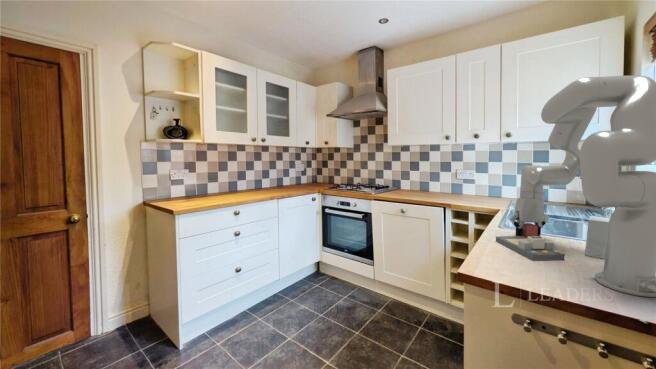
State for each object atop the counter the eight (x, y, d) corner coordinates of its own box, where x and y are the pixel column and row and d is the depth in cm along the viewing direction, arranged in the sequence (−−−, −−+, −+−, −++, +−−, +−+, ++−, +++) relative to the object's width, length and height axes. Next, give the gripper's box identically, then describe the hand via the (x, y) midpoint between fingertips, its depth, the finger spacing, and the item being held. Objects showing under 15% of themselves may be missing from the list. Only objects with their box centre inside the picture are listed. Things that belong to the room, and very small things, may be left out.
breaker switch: (544, 248, 97) (545, 237, 97) (533, 248, 97) (533, 238, 97) (537, 245, 100) (538, 235, 100) (526, 245, 100) (527, 235, 100)
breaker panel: (564, 259, 93) (565, 247, 93) (532, 260, 93) (533, 247, 92) (522, 240, 113) (522, 230, 112) (495, 241, 113) (496, 230, 112)
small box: (610, 260, 92) (614, 222, 91) (584, 255, 97) (588, 219, 95) (610, 253, 98) (614, 218, 96) (586, 249, 102) (589, 215, 101)
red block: (536, 239, 114) (538, 225, 113) (526, 240, 114) (527, 226, 113) (528, 236, 118) (530, 223, 118) (518, 236, 118) (519, 223, 118)
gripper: (544, 193, 118) (541, 233, 120) (504, 194, 117) (501, 234, 120) (559, 196, 110) (555, 239, 112) (516, 197, 110) (513, 240, 112)
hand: (527, 236), depth 116 cm, fingers open, 6 cm apart
